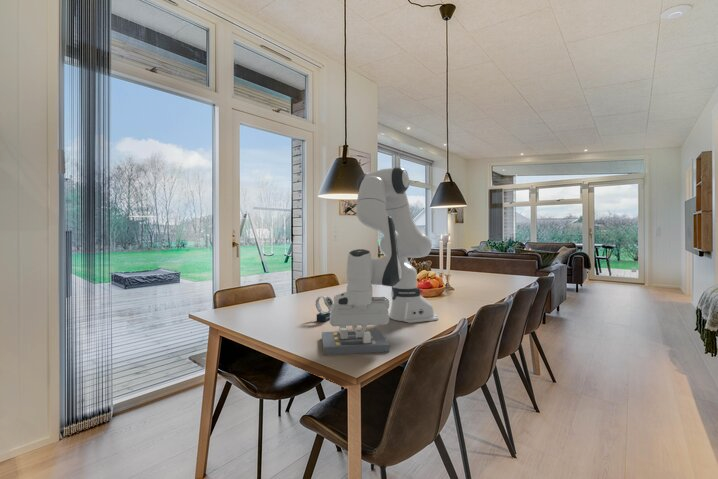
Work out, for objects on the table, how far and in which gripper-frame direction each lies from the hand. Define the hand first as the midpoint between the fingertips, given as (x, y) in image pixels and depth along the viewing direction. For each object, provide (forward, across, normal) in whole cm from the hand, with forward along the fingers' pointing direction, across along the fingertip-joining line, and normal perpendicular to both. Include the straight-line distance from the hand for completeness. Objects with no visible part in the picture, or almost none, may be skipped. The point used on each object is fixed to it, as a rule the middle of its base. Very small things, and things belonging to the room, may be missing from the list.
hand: (359, 337), depth 122 cm
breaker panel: (+4, +1, -5) cm, 7 cm away
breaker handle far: (+2, +5, -11) cm, 12 cm away
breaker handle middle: (+2, +5, -5) cm, 7 cm away
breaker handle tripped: (+2, -3, 0) cm, 3 cm away
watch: (+4, +10, -39) cm, 41 cm away
